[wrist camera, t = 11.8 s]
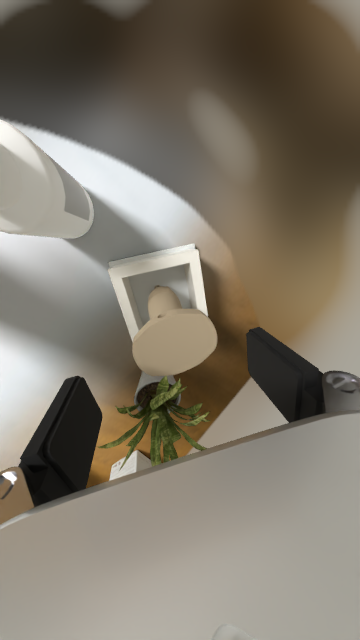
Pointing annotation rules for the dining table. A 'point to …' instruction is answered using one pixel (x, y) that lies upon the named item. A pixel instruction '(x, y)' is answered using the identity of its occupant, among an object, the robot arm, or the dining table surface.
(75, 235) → the spray bottle
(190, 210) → the dining table surface
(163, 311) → the handle
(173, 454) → the house plant
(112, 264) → the box
